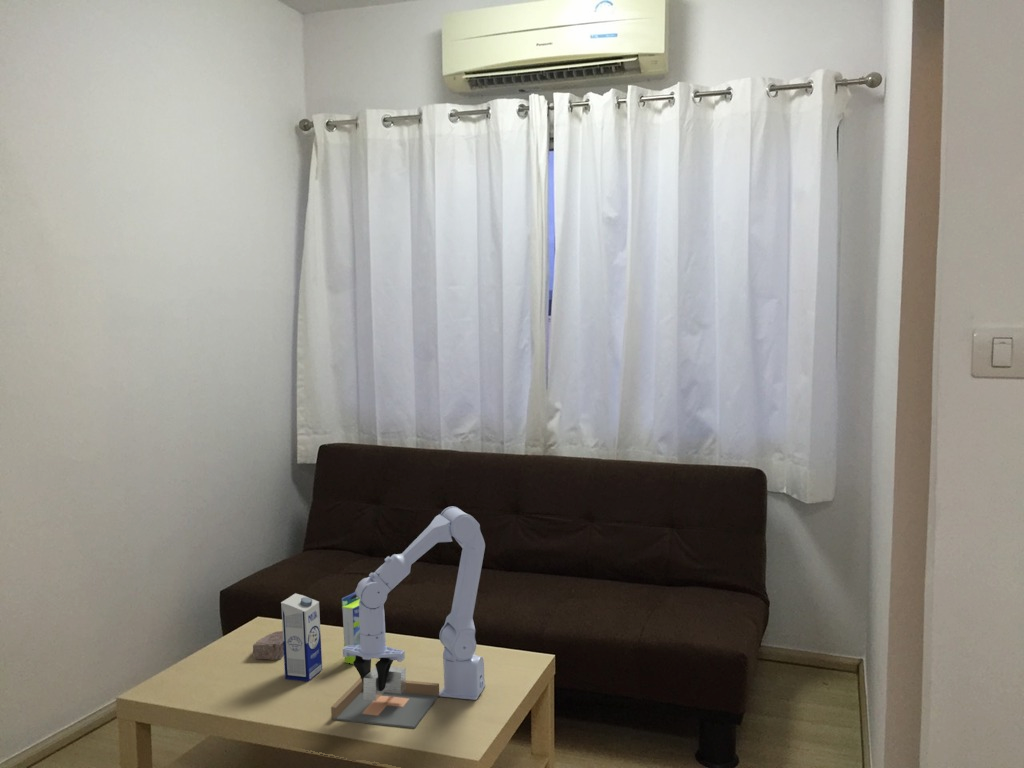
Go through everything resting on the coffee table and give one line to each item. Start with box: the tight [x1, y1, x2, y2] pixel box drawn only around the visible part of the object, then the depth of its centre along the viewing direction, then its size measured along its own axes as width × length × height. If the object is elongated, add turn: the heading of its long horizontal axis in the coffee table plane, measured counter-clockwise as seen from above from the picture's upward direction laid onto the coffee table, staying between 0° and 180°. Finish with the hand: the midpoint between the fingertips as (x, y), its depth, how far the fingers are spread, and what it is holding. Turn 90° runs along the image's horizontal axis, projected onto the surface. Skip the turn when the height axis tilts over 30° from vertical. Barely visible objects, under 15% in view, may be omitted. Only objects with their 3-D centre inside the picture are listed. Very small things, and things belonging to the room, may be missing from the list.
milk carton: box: [280, 592, 323, 682], centre depth 207 cm, size 7×7×20 cm
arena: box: [330, 677, 440, 730], centre depth 189 cm, size 20×16×3 cm
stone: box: [252, 630, 284, 661], centre depth 223 cm, size 12×9×5 cm
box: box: [341, 591, 360, 665], centre depth 217 cm, size 10×4×17 cm, turn 151°
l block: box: [364, 665, 407, 701], centre depth 188 cm, size 8×7×5 cm
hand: (374, 688), depth 188 cm, fingers closed on l block, 3 cm apart
